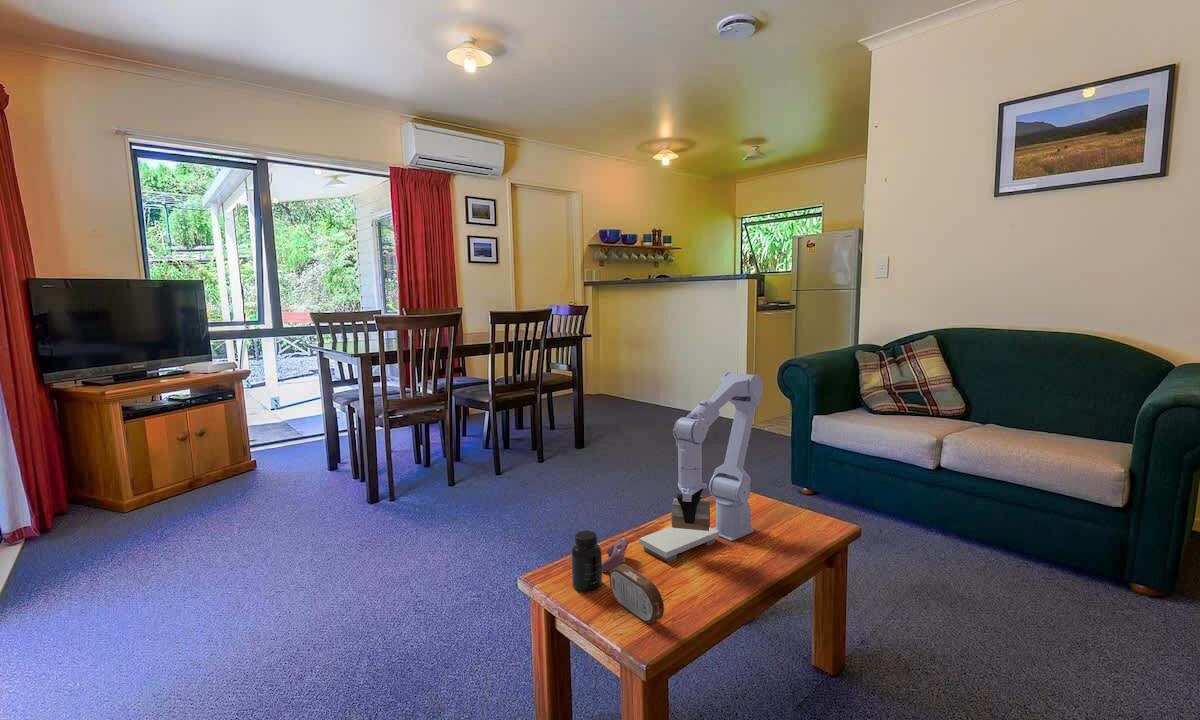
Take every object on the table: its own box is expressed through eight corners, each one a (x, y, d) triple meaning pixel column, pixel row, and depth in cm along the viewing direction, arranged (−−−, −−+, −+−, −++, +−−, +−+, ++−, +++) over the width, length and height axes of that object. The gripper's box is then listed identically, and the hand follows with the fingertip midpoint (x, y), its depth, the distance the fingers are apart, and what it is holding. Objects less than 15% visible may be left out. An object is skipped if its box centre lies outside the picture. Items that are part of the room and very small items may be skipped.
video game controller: (615, 580, 123) (628, 556, 122) (598, 570, 123) (610, 546, 122) (622, 560, 132) (633, 537, 131) (606, 551, 133) (617, 528, 132)
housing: (674, 521, 133) (673, 498, 133) (710, 524, 131) (710, 501, 130) (671, 527, 130) (671, 504, 129) (708, 531, 127) (708, 507, 126)
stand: (691, 529, 146) (691, 519, 146) (718, 542, 138) (718, 531, 138) (639, 549, 135) (639, 538, 135) (666, 564, 127) (665, 552, 126)
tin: (665, 627, 102) (665, 586, 101) (653, 633, 100) (652, 591, 100) (618, 593, 114) (618, 557, 114) (607, 598, 113) (606, 561, 112)
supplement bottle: (567, 582, 119) (565, 532, 118) (593, 574, 123) (591, 525, 121) (580, 597, 113) (579, 544, 112) (608, 588, 117) (606, 536, 115)
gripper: (704, 476, 121) (704, 533, 122) (708, 458, 134) (709, 509, 136) (673, 474, 123) (674, 530, 124) (681, 457, 136) (681, 507, 138)
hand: (690, 519), depth 130 cm, fingers closed on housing, 4 cm apart
